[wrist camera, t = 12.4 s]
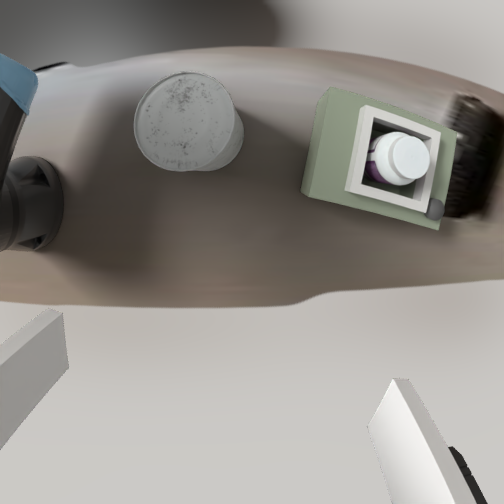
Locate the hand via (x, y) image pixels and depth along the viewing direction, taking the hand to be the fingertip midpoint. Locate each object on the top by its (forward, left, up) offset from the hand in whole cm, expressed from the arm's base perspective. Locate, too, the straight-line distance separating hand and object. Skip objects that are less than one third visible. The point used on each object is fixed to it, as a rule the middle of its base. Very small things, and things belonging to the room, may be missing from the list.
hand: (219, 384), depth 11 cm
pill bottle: (+13, +12, -27) cm, 32 cm away
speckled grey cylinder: (-8, +11, -31) cm, 34 cm away
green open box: (+13, +12, -31) cm, 35 cm away
